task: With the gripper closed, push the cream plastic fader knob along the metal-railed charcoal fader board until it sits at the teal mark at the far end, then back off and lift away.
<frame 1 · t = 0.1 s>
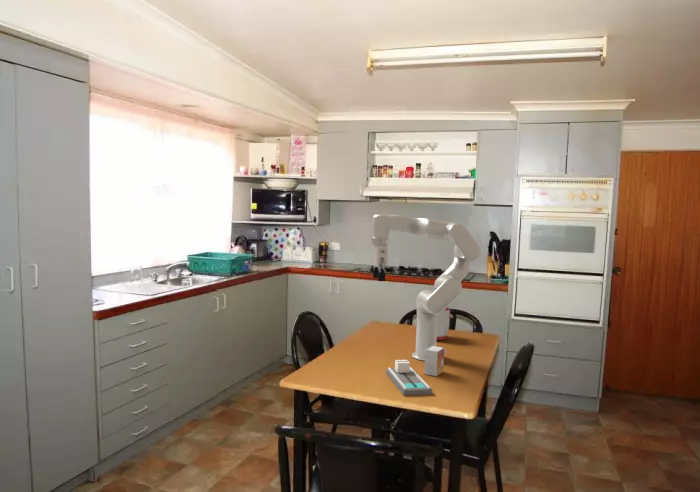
hand: (378, 279, 222), 37 cm above the table, tool pointing down, fingers open, 9 cm apart
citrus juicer: (436, 338, 266), on the table
fader board: (407, 383, 193), on the table
small box: (433, 373, 207), on the table
fader knob: (402, 366, 201), point 4 cm above the table, slide at 0.0 cm
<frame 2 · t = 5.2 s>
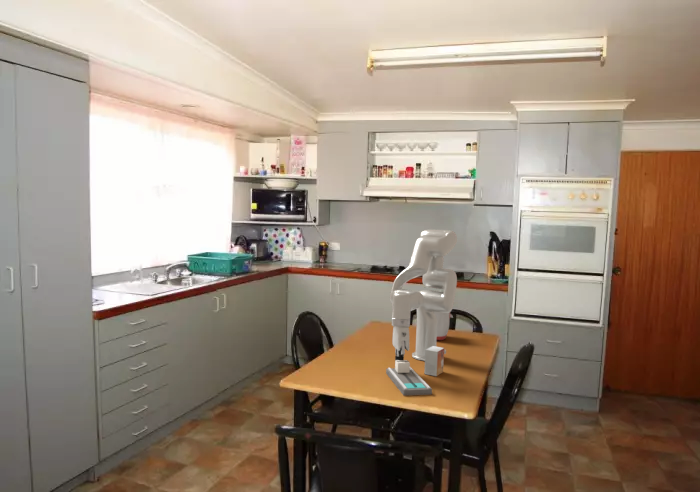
hand: (399, 365, 205), 3 cm above the table, tool pointing down, fingers closed
fader knob: (402, 366, 200), point 4 cm above the table, slide at 0.2 cm, touching gripper
everything else where it was.
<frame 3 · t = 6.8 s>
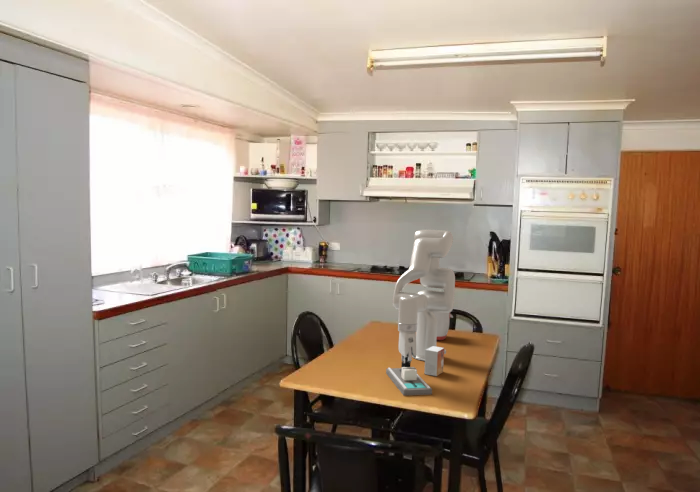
hand: (405, 372, 196), 3 cm above the table, tool pointing down, fingers closed
fader knob: (409, 373, 191), point 4 cm above the table, slide at 9.3 cm, touching gripper
everything else where it was.
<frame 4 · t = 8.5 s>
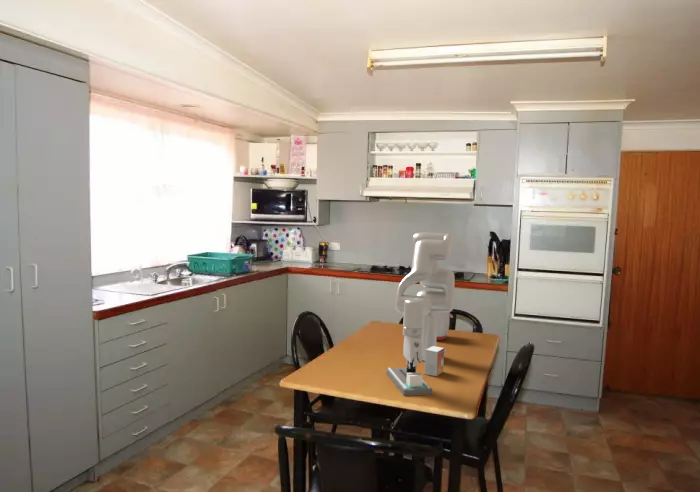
hand: (410, 378, 189), 3 cm above the table, tool pointing down, fingers closed
fader knob: (414, 379, 185), point 4 cm above the table, slide at 16.0 cm, touching gripper
everything else where it was.
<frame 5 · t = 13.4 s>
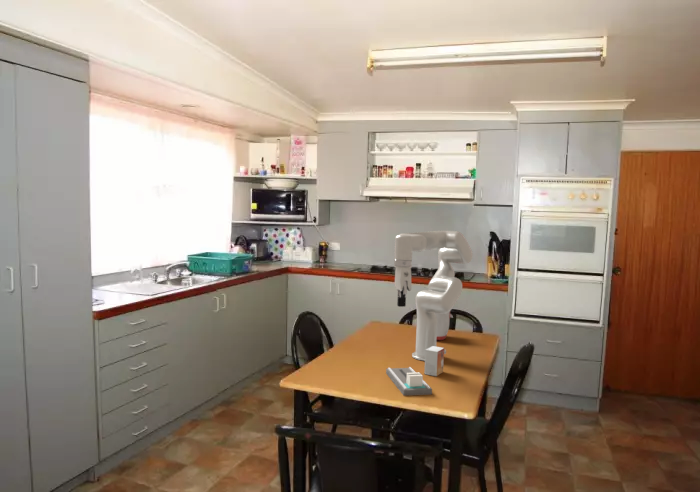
hand: (401, 306, 210), 27 cm above the table, tool pointing down, fingers closed
fader knob: (414, 379, 185), point 4 cm above the table, slide at 16.0 cm
everything else where it was.
at the end: fader knob slide at 16.0 cm; small box moved 0.3 cm from its start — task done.
